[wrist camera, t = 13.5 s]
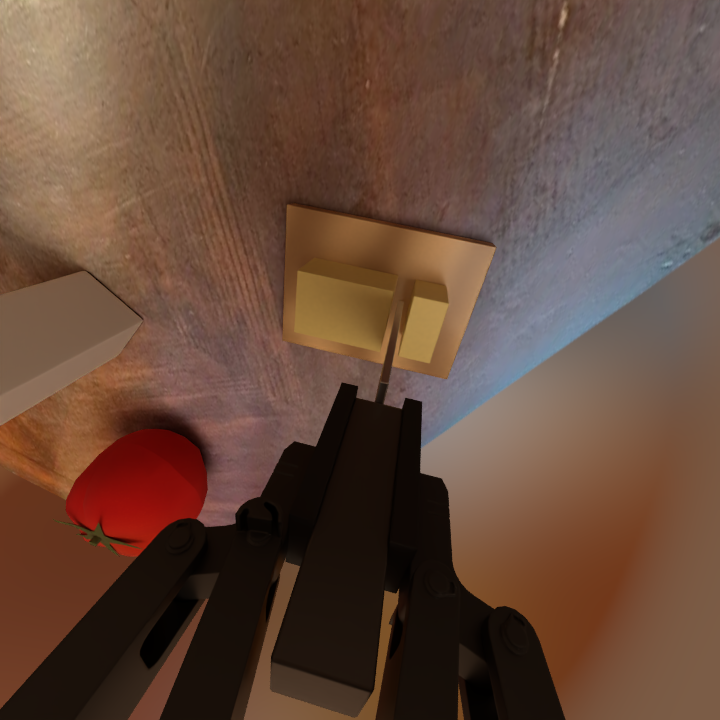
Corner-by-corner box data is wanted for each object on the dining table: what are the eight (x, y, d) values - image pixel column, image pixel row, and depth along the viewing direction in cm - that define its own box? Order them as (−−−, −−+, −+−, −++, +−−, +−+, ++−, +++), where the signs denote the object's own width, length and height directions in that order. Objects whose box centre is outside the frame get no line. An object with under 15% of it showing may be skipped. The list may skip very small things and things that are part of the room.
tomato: (155, 393, 40) (44, 484, 28) (246, 455, 43) (178, 560, 31) (121, 449, 48) (23, 539, 36) (200, 499, 51) (132, 597, 39)
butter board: (493, 243, 24) (496, 247, 23) (446, 370, 31) (446, 379, 30) (293, 202, 26) (286, 204, 24) (287, 333, 32) (282, 340, 31)
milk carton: (120, 354, 38) (-109, 491, 22) (65, 310, 36) (-231, 423, 20) (145, 319, 34) (-104, 450, 18) (86, 269, 33) (-249, 365, 16)
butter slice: (446, 285, 25) (449, 303, 22) (429, 340, 28) (429, 364, 25) (415, 279, 25) (413, 295, 22) (401, 334, 28) (397, 356, 25)
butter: (398, 275, 26) (393, 291, 22) (385, 330, 28) (380, 352, 25) (314, 257, 26) (297, 270, 23) (309, 313, 29) (293, 332, 25)
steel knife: (417, 304, 22) (385, 676, 6) (402, 358, 24) (350, 730, 8) (385, 297, 22) (269, 640, 6) (374, 351, 24) (268, 703, 8)
